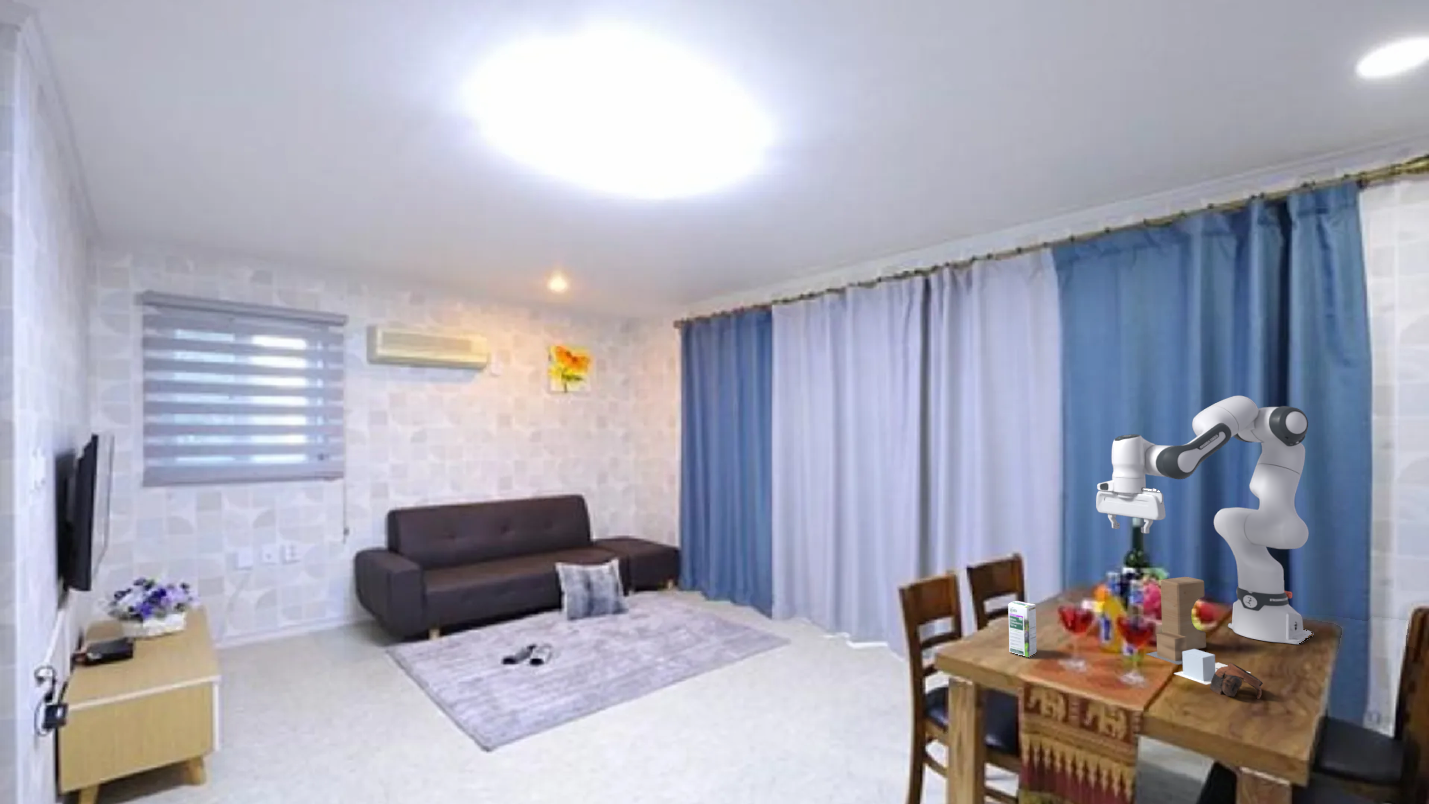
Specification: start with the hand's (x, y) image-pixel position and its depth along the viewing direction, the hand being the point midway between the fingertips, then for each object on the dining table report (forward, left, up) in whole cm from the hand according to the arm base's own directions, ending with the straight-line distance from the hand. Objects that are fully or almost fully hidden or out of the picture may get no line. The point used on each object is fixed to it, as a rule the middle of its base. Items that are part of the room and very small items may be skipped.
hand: (1130, 530), depth 203 cm
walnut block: (+7, +16, -33) cm, 37 cm away
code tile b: (+15, +28, -33) cm, 46 cm away
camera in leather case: (+19, +38, -33) cm, 54 cm away
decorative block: (-5, +12, -33) cm, 36 cm away
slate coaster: (+7, +16, -33) cm, 37 cm away
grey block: (+15, +28, -33) cm, 46 cm away
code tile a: (+4, +28, -33) cm, 44 cm away
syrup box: (+42, -4, -33) cm, 54 cm away
